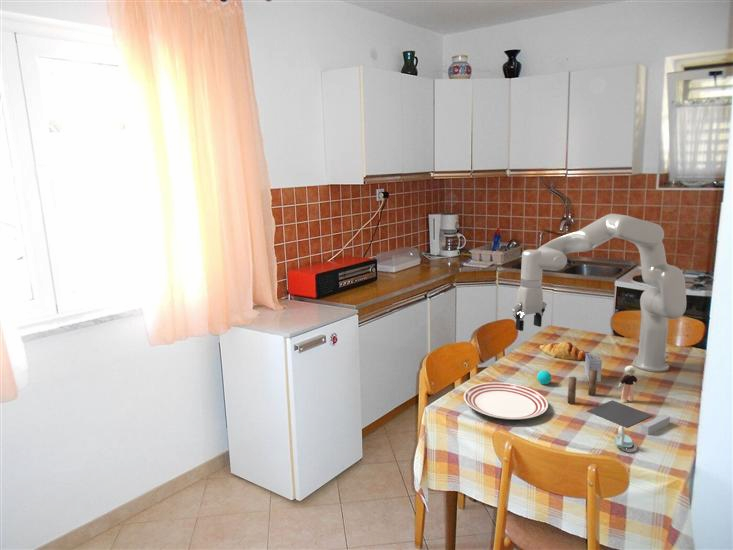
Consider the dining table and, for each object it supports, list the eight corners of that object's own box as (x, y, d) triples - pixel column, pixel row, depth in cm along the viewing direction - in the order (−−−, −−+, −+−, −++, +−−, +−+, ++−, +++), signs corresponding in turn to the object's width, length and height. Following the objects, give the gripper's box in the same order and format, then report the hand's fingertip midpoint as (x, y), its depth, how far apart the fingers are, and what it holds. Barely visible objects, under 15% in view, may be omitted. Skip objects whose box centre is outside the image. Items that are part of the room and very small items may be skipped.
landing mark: (612, 400, 186) (612, 400, 186) (652, 415, 175) (652, 415, 175) (586, 411, 179) (586, 410, 179) (626, 427, 168) (627, 427, 167)
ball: (542, 380, 205) (543, 367, 204) (553, 384, 201) (554, 371, 200) (533, 383, 202) (534, 370, 201) (544, 387, 198) (545, 374, 197)
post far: (570, 400, 187) (571, 376, 185) (576, 403, 185) (578, 378, 183) (565, 402, 186) (567, 377, 184) (571, 404, 184) (573, 379, 182)
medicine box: (600, 382, 202) (602, 360, 200) (588, 382, 203) (589, 359, 201) (596, 374, 209) (597, 353, 208) (584, 374, 210) (585, 352, 209)
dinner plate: (562, 406, 183) (563, 397, 183) (520, 435, 165) (520, 425, 164) (492, 384, 203) (492, 375, 202) (447, 407, 184) (447, 398, 183)
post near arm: (590, 392, 193) (592, 368, 191) (596, 395, 191) (598, 370, 189) (586, 394, 192) (588, 370, 190) (592, 396, 190) (594, 372, 188)
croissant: (536, 360, 236) (533, 346, 232) (545, 344, 241) (542, 331, 237) (586, 370, 222) (583, 356, 218) (594, 353, 228) (591, 339, 224)
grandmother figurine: (625, 405, 183) (628, 369, 180) (615, 401, 186) (618, 365, 184) (640, 400, 186) (643, 365, 184) (630, 396, 190) (633, 361, 187)
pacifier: (637, 444, 158) (614, 439, 161) (639, 424, 157) (617, 419, 160) (636, 456, 152) (612, 450, 155) (638, 435, 151) (615, 430, 154)
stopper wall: (663, 421, 171) (663, 414, 171) (669, 423, 170) (670, 416, 169) (641, 432, 165) (642, 424, 164) (647, 434, 163) (648, 427, 163)
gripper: (538, 278, 209) (536, 322, 212) (506, 284, 200) (504, 329, 203) (554, 282, 202) (552, 326, 206) (522, 288, 193) (520, 334, 197)
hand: (528, 327), depth 204 cm, fingers open, 9 cm apart
